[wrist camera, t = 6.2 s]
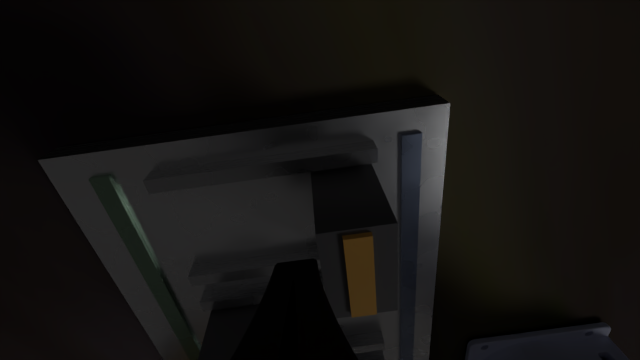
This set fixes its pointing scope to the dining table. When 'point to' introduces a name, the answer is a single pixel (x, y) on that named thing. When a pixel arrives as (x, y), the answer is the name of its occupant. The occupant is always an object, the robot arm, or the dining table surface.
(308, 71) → the dining table surface
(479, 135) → the dining table surface
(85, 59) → the dining table surface
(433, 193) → the breaker panel
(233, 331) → the breaker
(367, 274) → the breaker
